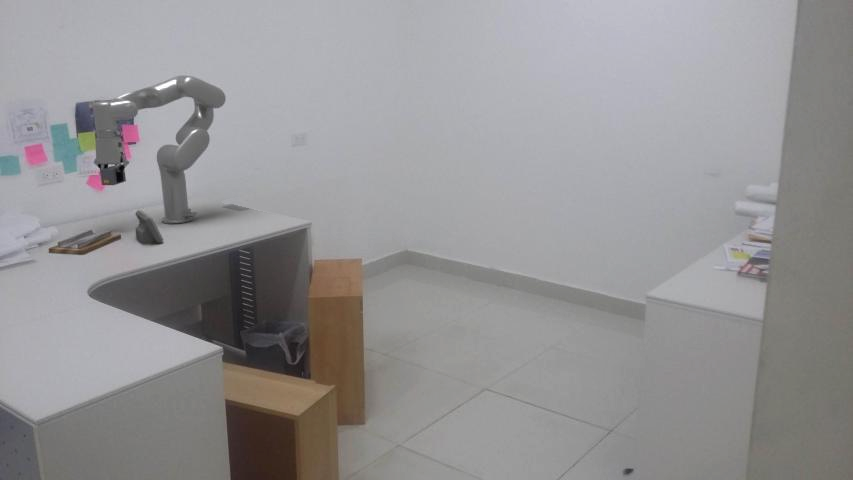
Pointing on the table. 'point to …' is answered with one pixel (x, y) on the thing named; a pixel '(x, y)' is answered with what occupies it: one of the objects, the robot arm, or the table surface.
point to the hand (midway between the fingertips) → (113, 180)
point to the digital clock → (147, 229)
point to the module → (110, 176)
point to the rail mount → (84, 242)
